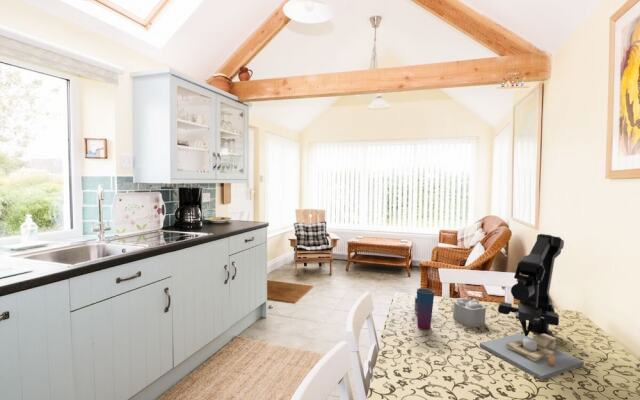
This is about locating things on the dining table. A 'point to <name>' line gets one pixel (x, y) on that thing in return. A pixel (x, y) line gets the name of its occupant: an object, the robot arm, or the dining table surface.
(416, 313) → the pill bottle
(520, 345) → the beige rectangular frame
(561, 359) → the board
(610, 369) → the dining table surface
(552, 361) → the orange rounded piece
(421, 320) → the cup
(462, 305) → the lumpy-topped squat cylinder
